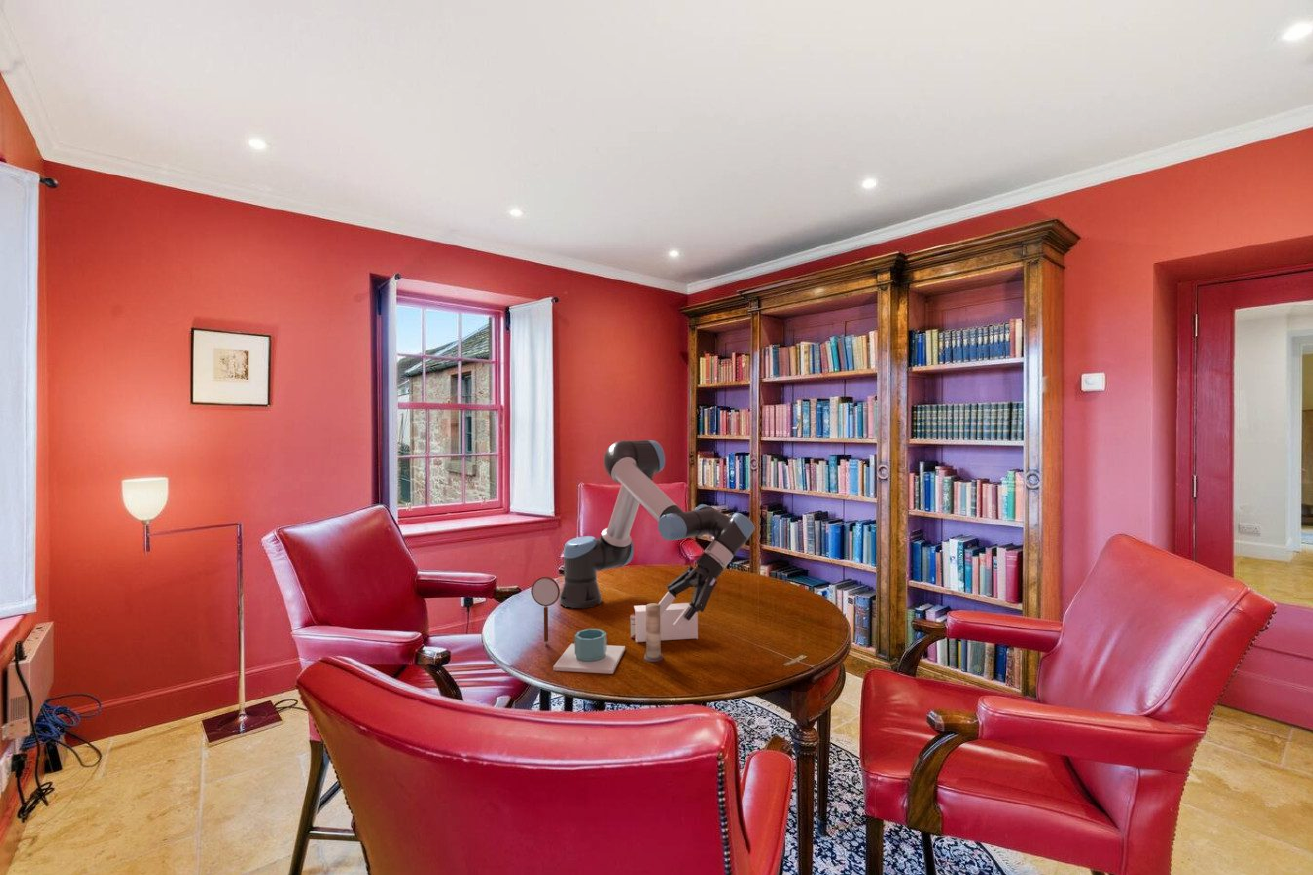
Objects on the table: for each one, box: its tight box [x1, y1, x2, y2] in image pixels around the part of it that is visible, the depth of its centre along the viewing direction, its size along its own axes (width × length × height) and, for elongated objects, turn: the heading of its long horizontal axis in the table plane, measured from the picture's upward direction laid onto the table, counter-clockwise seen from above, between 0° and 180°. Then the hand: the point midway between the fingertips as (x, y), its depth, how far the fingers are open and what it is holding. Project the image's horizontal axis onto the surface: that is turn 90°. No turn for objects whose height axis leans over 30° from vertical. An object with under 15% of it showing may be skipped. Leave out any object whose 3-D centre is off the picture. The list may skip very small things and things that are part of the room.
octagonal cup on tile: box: [552, 628, 626, 675], centre depth 152 cm, size 16×16×7 cm
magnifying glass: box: [531, 576, 561, 645], centre depth 164 cm, size 9×2×20 cm, turn 82°
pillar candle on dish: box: [643, 602, 664, 663], centre depth 153 cm, size 5×5×15 cm
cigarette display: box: [629, 602, 699, 643], centre depth 168 cm, size 20×6×9 cm, turn 98°
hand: (666, 619), depth 153 cm, fingers open, 13 cm apart
